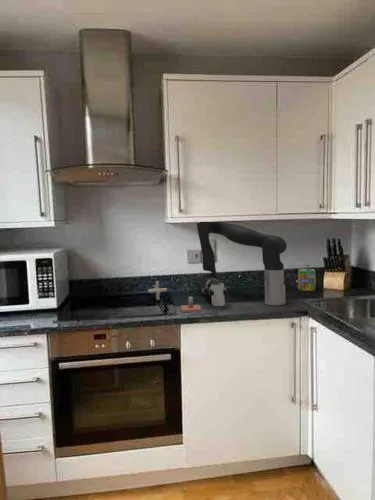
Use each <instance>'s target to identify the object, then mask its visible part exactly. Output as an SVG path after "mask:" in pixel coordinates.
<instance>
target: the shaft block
mask: <svg viewBox="0 0 375 500" xmlns="http://www.w3.org/2000/svg"><path fill="white" fill-rule="evenodd" d="M187 299H188V300H187V301H188V302H187V304H188V305H184V304H183V305H181V306H180V309H181V313H182V314H183V313H201V312H202V308H201V306H200V304H194V296H188V297H187Z"/></svg>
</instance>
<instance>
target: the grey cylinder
mask: <svg viewBox="0 0 375 500" xmlns="http://www.w3.org/2000/svg"><path fill="white" fill-rule="evenodd" d="M224 288H225V284H224V283H223V282H220V283H213V284H211V290H212V296H211V305H212V306H213V307H223V306H225V305H226V301H225V296H226V295H224Z"/></svg>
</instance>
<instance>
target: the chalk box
mask: <svg viewBox="0 0 375 500" xmlns="http://www.w3.org/2000/svg"><path fill="white" fill-rule="evenodd" d="M297 271H298V273H297V288H298V291H300V292H301V291H302V292H304V291H305V292H316V291H317V288H316V287H317V285H316V284H317V281H316V279H317V272H316V269H314V268H310V263H308V264H307V266H306V268H298V270H297Z"/></svg>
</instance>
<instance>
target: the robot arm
mask: <svg viewBox="0 0 375 500" xmlns="http://www.w3.org/2000/svg"><path fill="white" fill-rule="evenodd" d="M196 223H197V222H196ZM196 228H197V229H196V230H197V233H198V238H199V244H200V249H201V256H202V257H201V258H202V270H203V271H206V272H210V273H211V274H204V275H202V276H201V277H200V279H199V283H200V286H201V292H202V294H204V295H205V296H206V295H209V296H210V297H212V290H211V284H213V283H221V282H220V279H219V276H218V274H217V270H216V269H217V268H216V256H215V252H214V250H213V247H212V245H211V242H210V234H216V235H220V236H223V237H225V238H226V239H227V240H229V241H230V242H233V243H235V244H239V245H243V246H248V247H256V248H261V251H262V252H261V253H262V263H263V266H264V303H265V305H269V306H281V305H286V284H285V276H284V275H285V272H284V271H285V269H284V267H285V266H284V265H285V264H284V263H283V262H282V261H281V255H282V254H283V253H284V252H286V250H287V242H286V240H285V239H284V238H282V237H280V236H276V235H271V234H266V233H263V232H259V231H256V230H254V229H251V228H249V227H248V228H247V227H245V226H242V225H238V224H235V223H230V222H229V223H228V222H224V221H223V222H200V223H197V224H196ZM230 289H231V287H230V285H226V286H225V287H224V296H227V295H228V294H231V291H230Z"/></svg>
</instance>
